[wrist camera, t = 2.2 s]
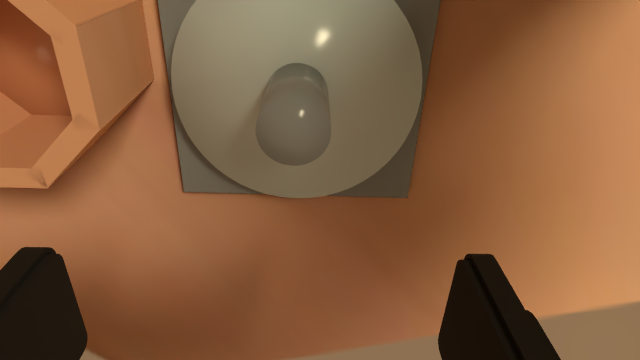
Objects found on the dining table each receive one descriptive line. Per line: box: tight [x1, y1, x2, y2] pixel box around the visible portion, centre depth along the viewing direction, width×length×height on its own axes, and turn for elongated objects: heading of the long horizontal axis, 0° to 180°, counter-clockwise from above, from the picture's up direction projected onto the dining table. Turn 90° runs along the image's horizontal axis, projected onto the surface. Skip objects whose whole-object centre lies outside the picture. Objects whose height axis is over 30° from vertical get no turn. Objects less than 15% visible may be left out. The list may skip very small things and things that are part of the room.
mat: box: [158, 0, 440, 198], centre depth 24 cm, size 14×14×1 cm
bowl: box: [0, 0, 154, 189], centre depth 20 cm, size 10×10×7 cm
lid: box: [171, 0, 422, 198], centre depth 21 cm, size 13×13×6 cm
